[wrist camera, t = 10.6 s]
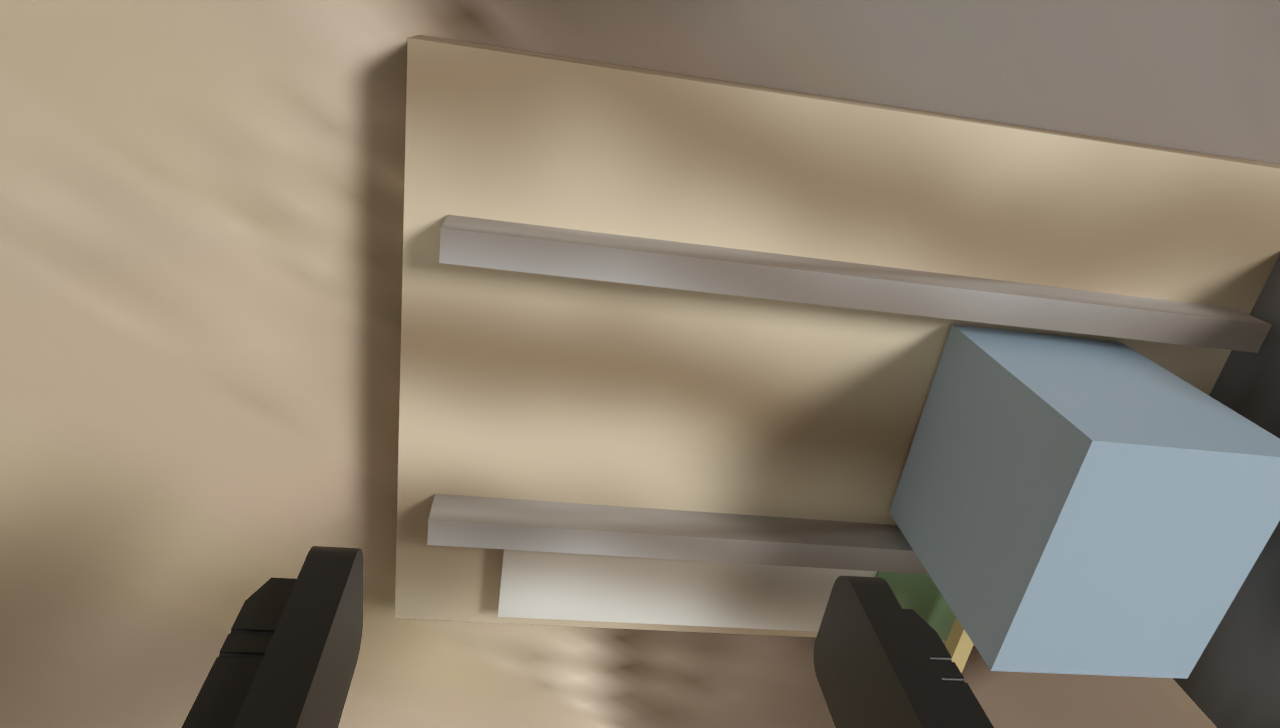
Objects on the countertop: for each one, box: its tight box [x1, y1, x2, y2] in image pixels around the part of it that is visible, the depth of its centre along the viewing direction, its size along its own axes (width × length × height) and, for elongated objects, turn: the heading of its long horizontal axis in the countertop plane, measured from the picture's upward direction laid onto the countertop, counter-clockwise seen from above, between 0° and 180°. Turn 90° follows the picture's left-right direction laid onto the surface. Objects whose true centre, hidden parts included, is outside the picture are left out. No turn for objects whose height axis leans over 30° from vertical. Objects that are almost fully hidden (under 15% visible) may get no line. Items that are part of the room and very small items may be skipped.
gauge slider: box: [889, 324, 1280, 679], centre depth 20 cm, size 10×6×6 cm, turn 172°
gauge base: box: [395, 35, 1280, 728], centre depth 19 cm, size 16×26×10 cm, turn 82°
